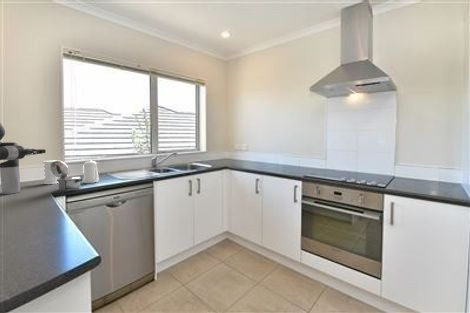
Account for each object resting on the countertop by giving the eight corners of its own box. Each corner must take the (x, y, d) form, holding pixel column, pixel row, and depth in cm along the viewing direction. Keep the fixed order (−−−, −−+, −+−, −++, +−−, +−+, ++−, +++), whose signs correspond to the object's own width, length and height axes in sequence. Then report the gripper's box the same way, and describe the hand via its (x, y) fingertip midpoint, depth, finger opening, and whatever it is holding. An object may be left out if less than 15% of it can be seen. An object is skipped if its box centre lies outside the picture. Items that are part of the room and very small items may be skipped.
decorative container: (61, 183, 189) (60, 161, 188) (42, 185, 183) (41, 162, 181) (62, 181, 199) (61, 160, 197) (45, 182, 193) (43, 160, 191)
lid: (71, 178, 162) (69, 179, 160) (54, 178, 163) (52, 179, 161) (66, 160, 158) (64, 161, 156) (49, 160, 159) (46, 161, 157)
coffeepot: (92, 184, 184) (91, 160, 182) (76, 181, 197) (75, 159, 195) (106, 182, 193) (105, 159, 191) (90, 179, 206) (89, 158, 205)
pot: (72, 191, 161) (71, 179, 160) (50, 191, 162) (50, 179, 161) (87, 187, 174) (86, 176, 174) (67, 187, 176) (66, 176, 175)
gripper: (23, 145, 127) (50, 144, 144) (-2, 145, 129) (28, 145, 145) (24, 159, 128) (51, 157, 145) (0, 159, 129) (29, 157, 146)
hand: (39, 151), depth 145 cm, fingers open, 6 cm apart
